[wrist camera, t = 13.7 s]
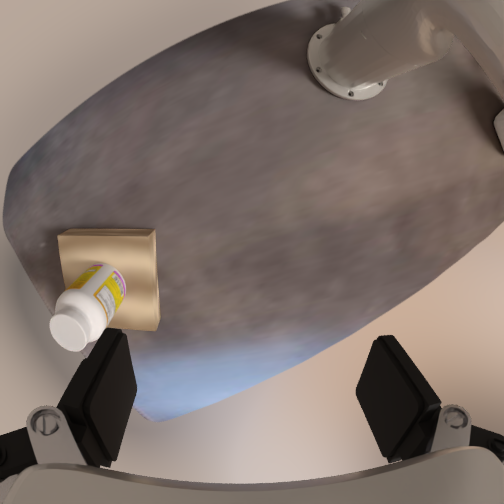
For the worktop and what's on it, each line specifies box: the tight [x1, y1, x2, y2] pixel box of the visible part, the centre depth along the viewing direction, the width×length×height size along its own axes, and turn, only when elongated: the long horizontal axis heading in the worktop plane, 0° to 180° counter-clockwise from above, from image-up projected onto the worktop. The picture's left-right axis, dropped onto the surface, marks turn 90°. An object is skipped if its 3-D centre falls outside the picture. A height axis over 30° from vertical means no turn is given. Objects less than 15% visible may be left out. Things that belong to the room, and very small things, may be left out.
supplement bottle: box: [50, 263, 126, 351], centre depth 31 cm, size 7×7×13 cm
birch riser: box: [58, 229, 161, 331], centre depth 39 cm, size 14×14×4 cm
